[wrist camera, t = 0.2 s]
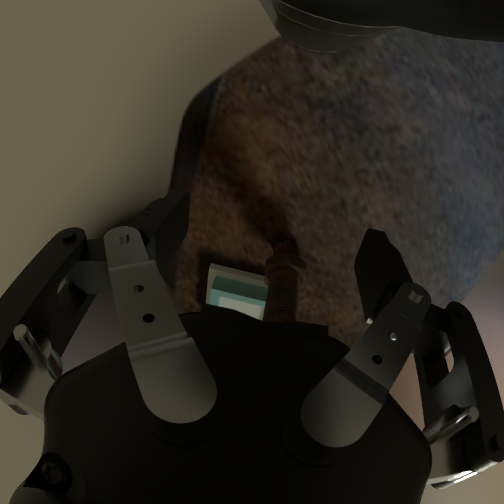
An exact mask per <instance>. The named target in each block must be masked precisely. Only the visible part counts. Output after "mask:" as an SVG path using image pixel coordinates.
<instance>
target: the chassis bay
mask: <svg viewBox="0 0 504 504" xmlns="http://www.w3.org/2000/svg"><path fill="white" fill-rule="evenodd" d="M267 292H268V286H267V285H266V284H265V283H264V276H262V275H258V274H254V273H249V272H245V271H241V270H237V269H233V268H229V267H225V266H221V265H217V264H213V263H211V265H210V267H209V275H208V284H207V294H206V304H211V305H216V306H220V307H225V308H230V309H235V310H237V311H239V312H242V313H244V314H247V315H249V316H252V317H254V318H257V319H259V320H263V315H264V309H265V303H266V297H267Z"/></svg>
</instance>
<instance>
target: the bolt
mask: <svg viewBox="0 0 504 504" xmlns="http://www.w3.org/2000/svg"><path fill="white" fill-rule="evenodd" d="M283 241H284V242H283V243H282V242H281V241H280V242H278V243H277V244H276V246H275V248H274V254H273V256H272V257H270V258H268V259H267V260H266V264H265V276H264V283H265V284H266V285H267V286H268V292H267V297H266V303H265V309H264V315H263V320H262V321H264V322H295V321H297V320H298V319H297V318H298V305H299V290H300V289H301V288H303V287H304V283H305V276H306V263H305V262H304V261H303V260H302V259H301V258H300V255H301V253H300V250H299V248H298V247H297V246H296V245H294V244H293V243H292V242H290V241H289V240H283Z"/></svg>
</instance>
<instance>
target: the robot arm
mask: <svg viewBox="0 0 504 504" xmlns="http://www.w3.org/2000/svg"><path fill="white" fill-rule="evenodd" d="M259 1H260V2H261V4H262V6H263V7H264V9H265V11H266V12H267V14H268V16H269V18H270V19H271V21H272V23H273V24H274V26H275V28H276V29H277V31H278V32H279V33H280V34H281V35H282V36H283V37H284V38H285V39H286V40H287V41H289V42H290V43H291V44H293V45H295V46H297V47H299V48H301V49H304V50H307V51H310V52H316V53H334V52H339V51H343V50H345V49H348V48H350V47H353V46H355V45H358V44H360V43H362V42H365V41H367V40H369V39H372V38H374V37H377V36H380V35H382V34H385V33H387V32H390V31H392V30H395V29H398V28H401V27H407V28H411V29H415V30H419V31H423V32H427V33H431V34H436V35H441V36H446V37H453V38H460V39H471V40H483V41H495V42H504V0H259ZM189 203H190V195H189V192H186V191H180V190H171V191H170V192H169V193H168V194H167V195H166V196H165V197H164V199H162V198H159V199H157V200H155V201H153V202H151V203H150V204H149V205H148V206H147V207H146V208H145V209H144V210H143V211H142V212H141V214H139V215H138V216H137V217H136V218H135V219H134V220H133V221H132V223H130V225H129V226H128V227H118V228H114V229H112V230H110V231H109V232H107V233H106V235H105V236H104V239H99V240H98V239H97V240H95V239H94V240H87V239H86V234H85V231H84V230H83V229H81V228H77V227H73V228H67V229H64V230H62V231H60V232H59V233H57V234H56V235H55V236H54V237H53V238H52V239H51V240H50V241H49V242H48V243H47V244H46V245H45V247H44V248H43V249H42V250H41V251H40V252H39V253H38V254H37V255H36V256H35V257H34V259H33V260H32V261H31V262H30V263H29V264H28V265H27V266H26V267H25V269H24V270H23V271H22V272H21V273H20V275H19V276H18V277H17V278H16V279H15V280H14V282H13V283H12V284H11V285H10V287H9V288H8V289H7V290H6V292H5V293H4V294H3V295H2V297H1V298H0V399H1V400H2V401H3V402H4V403H6V404H8V405H9V406H10V407H11V408H12V409H13V410H14V411H15V412H17V413H18V414H21V415H27V414H33V415H35V416H36V417H38V418H40V419H41V420H43V421H44V425H45V428H44V430H45V433H44V446H43V452H42V455H41V458H40V460H39V462H38V464H37V465H36V467H35V468H34V469H33V471H32V472H31V474H30V475H29V476H28V477H27V478H26V479H25V480H24V481H23V482H22V483H21V484H20V485H19V487H18V488H17V489H16V490H15V492H14V493H13V495H12V497H11V500H10V503H9V504H420V501H421V498H422V494H423V491H424V488H425V486H426V485H428V484H431V485H432V486H433V487H434V488H436V489H444V488H447V487H449V486H452V485H454V484H456V483H459V482H461V481H463V480H466V479H468V478H470V477H472V476H474V475H476V474H479V473H481V472H482V471H485V470H487V469H488V468H490V467H492V466H494V465H496V464H498V463H500V462H501V461H503V460H504V410H503V405H502V401H501V397H500V394H499V390H498V387H497V383H496V380H495V377H494V373H493V370H492V367H491V364H490V361H489V358H488V355H487V352H486V350H485V347H484V344H483V341H482V339H481V336H480V334H479V331H478V329H477V326H476V324H475V322H474V319H473V317H472V315H471V313H470V312H469V310H468V309H467V308H466V307H465V306H463V305H462V304H460V303H458V302H455V301H452V302H450V303H449V304H448V305H447V307H446V308H445V309H442V308H440V307H438V306H435V305H433V304H431V297H430V295H429V293H428V292H427V291H426V290H425V289H424V288H423V287H422V286H420V285H419V284H416V283H414V282H413V281H412V279H411V276H410V274H409V272H408V270H407V267H405V263H404V261H403V259H402V257H401V254H400V252H399V251H398V250H397V249H396V248H395V247H394V246H393V245H392V244H390V242H389V240H388V238H387V236H386V234H385V232H383V231H379V230H375V229H371V228H369V229H368V230H367V231H366V233H365V236H364V238H363V241H362V244H361V246H360V248H359V251H358V253H357V256H356V259H355V264H354V270H355V274H356V278H357V283H358V287H359V292H360V296H361V301H362V306H363V311H364V316H365V321H366V323H371V325H370V326H369V328H368V329H367V330H366V331H365V333H364V334H363V335H362V336H361V338H360V339H359V340H358V341H357V343H356V344H355V345H354V346H353V347H352V349H350V348H349V347H348V346H346V345H345V344H344V343H342V342H341V341H339V340H337V339H335V338H333V337H331V336H328V326H324V325H317V324H311V323H305V322H299V321H295V322H264V321H262V320H259V319H257V318H254V317H252V316H249V315H247V314H244V313H242V312H239V311H237V310H235V309H230V308H225V307H220V306H216V305H211V304H206V303H204V305H203V308H202V310H201V312H188V313H183V314H179V315H178V314H177V312H176V309H175V307H174V305H173V303H172V301H171V298H170V296H169V294H168V292H167V289H166V287H165V285H164V282H163V280H162V275H163V273H164V272H165V270H166V268H167V266H168V265H169V263H170V261H171V260H172V258H173V256H174V255H175V253H176V251H177V250H178V248H179V246H180V245H181V243H182V241H183V240H184V238H185V236H186V234H187V231H188V226H189ZM63 279H65V282H66V284H65V285H64V286H63V288H62V289H61V290H60V292H59V293H58V295H57V291H58V287H59V285H60V283H61V282H62V280H63ZM97 294H113V295H114V300H115V304H116V309H117V313H118V317H119V321H120V325H121V328H122V332H123V336H124V340H125V342H123V343H121V344H119V345H117V346H115V347H114V348H112V349H110V350H108V351H106V352H104V353H102V354H100V355H98V356H96V357H95V358H93V359H91V360H89V361H87V362H85V363H83V364H81V365H79V366H77V367H76V368H73V369H71V370H70V371H68V372H66V373H64V374H63V375H62V372H63V363H62V360H61V356H62V354H63V353H64V351H65V349H66V347H67V345H68V343H69V341H70V339H71V338H72V336H73V334H74V332H75V331H76V329H77V327H78V325H79V324H80V322H81V320H82V318H83V317H84V315H85V313H86V312H87V310H88V308H89V307H90V305H91V303H92V302H93V300H94V298H95V297H96V295H97ZM450 351H452V354H453V358H454V366H453V369H452V371H451V372H450V373H449V370H448V366H447V363H446V359H445V356H447V354H448V353H449V352H450ZM410 353H413V354H414V358H415V363H416V369H417V374H418V380H419V386H420V393H421V399H422V407H423V415H424V423H425V427H424V429H423V431H421V430H420V429H419V428H418V427H417V426H416V424H415V423H414V422H413V421H412V419H411V418H410V417H409V416H408V415H407V414H406V412H405V411H404V410H403V409H402V408H401V406H400V405H399V404H398V403H397V402H396V400H395V399H394V398H393V397H392V396H391V395H390V394H389V390H390V388H391V387H392V385H393V383H394V382H395V380H396V378H397V377H398V375H399V373H400V371H401V370H402V368H403V366H404V364H405V362H406V360H407V359H408V357H409V355H410Z"/></svg>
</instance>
